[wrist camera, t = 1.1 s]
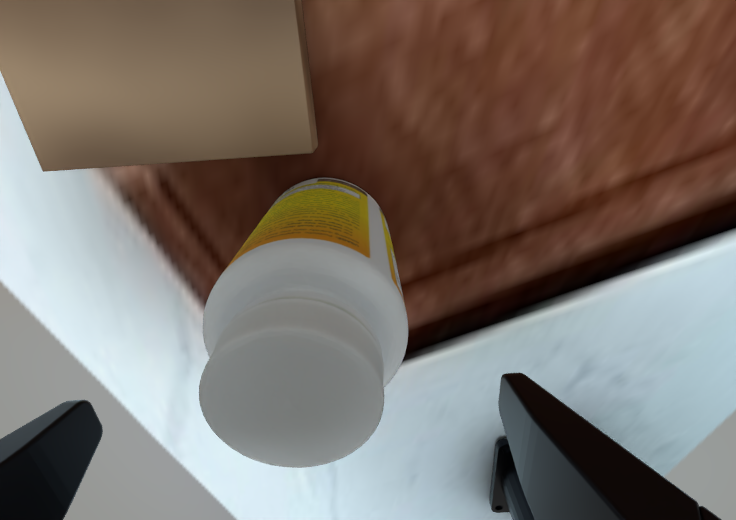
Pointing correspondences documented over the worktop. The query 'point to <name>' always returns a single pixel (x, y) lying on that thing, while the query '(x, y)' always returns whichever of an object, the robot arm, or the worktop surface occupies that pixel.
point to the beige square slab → (158, 80)
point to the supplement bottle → (305, 329)
